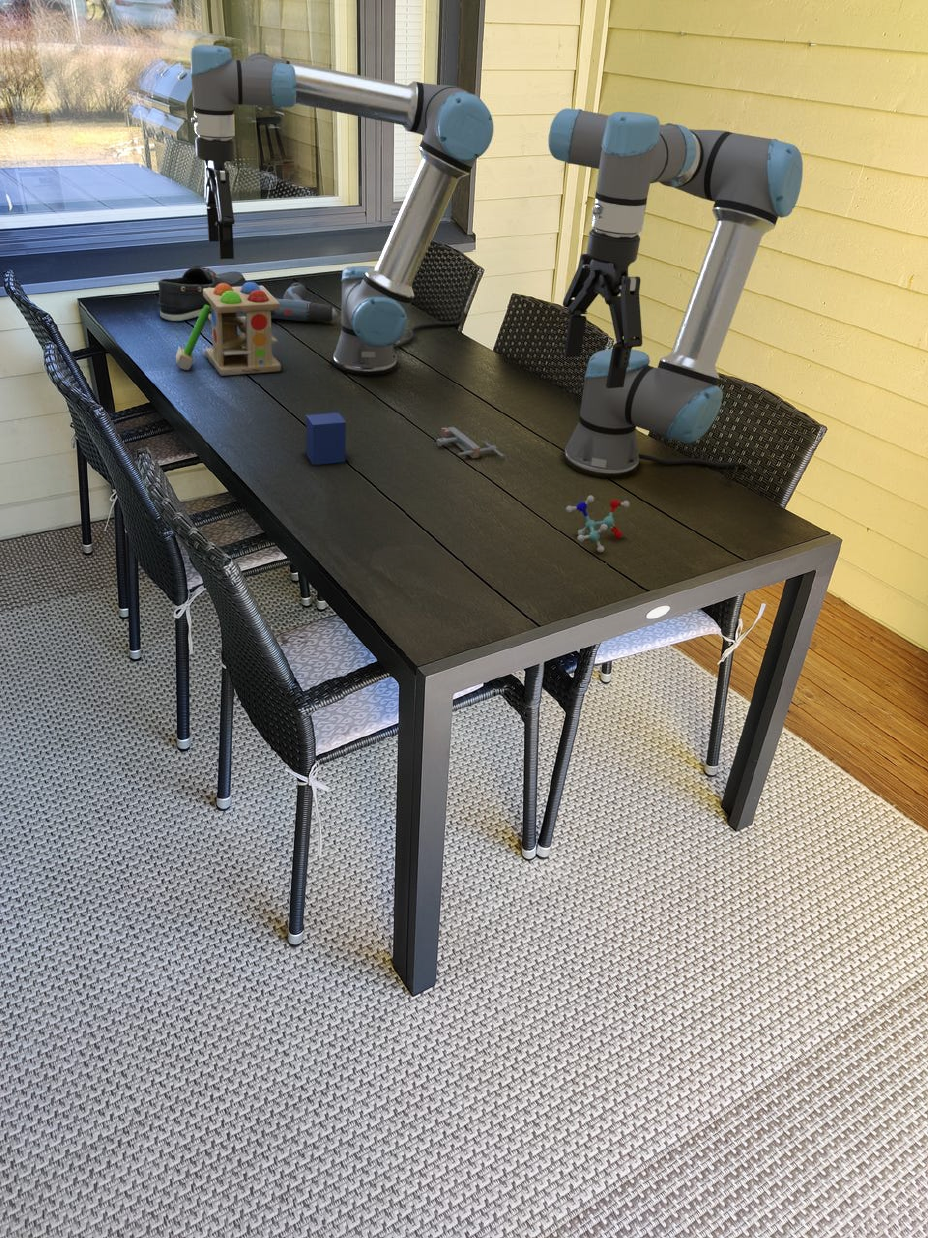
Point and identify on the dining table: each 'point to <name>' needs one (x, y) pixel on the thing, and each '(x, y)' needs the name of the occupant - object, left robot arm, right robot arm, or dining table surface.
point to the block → (325, 438)
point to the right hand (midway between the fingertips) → (592, 371)
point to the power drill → (301, 307)
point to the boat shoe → (191, 292)
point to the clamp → (464, 443)
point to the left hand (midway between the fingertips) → (220, 249)
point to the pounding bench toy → (229, 347)
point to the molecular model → (591, 523)
